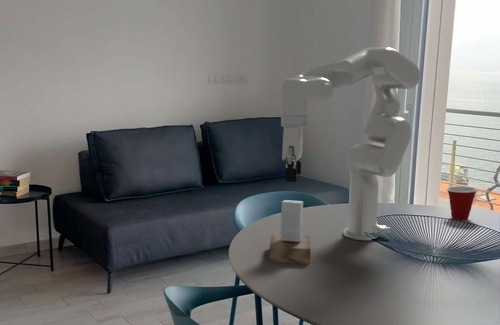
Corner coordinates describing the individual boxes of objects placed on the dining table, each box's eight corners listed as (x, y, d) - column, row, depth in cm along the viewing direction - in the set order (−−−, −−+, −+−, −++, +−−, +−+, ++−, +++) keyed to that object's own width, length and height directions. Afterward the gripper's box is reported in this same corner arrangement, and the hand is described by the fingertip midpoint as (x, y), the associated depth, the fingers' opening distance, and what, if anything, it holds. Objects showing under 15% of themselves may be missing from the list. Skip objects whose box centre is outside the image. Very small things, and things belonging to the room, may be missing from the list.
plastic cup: (452, 212, 215) (455, 183, 212) (479, 218, 207) (482, 188, 205) (438, 217, 207) (441, 187, 205) (466, 224, 200) (468, 192, 197)
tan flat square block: (309, 250, 172) (309, 235, 171) (309, 265, 160) (310, 248, 159) (271, 249, 173) (271, 234, 172) (269, 263, 161) (269, 247, 160)
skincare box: (302, 239, 167) (303, 201, 166) (299, 242, 163) (301, 203, 162) (283, 237, 169) (284, 199, 168) (279, 240, 165) (281, 201, 164)
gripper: (285, 117, 168) (285, 171, 171) (276, 124, 151) (276, 184, 155) (310, 117, 166) (309, 172, 170) (302, 125, 150) (302, 185, 153)
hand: (293, 177), depth 162 cm, fingers open, 9 cm apart
